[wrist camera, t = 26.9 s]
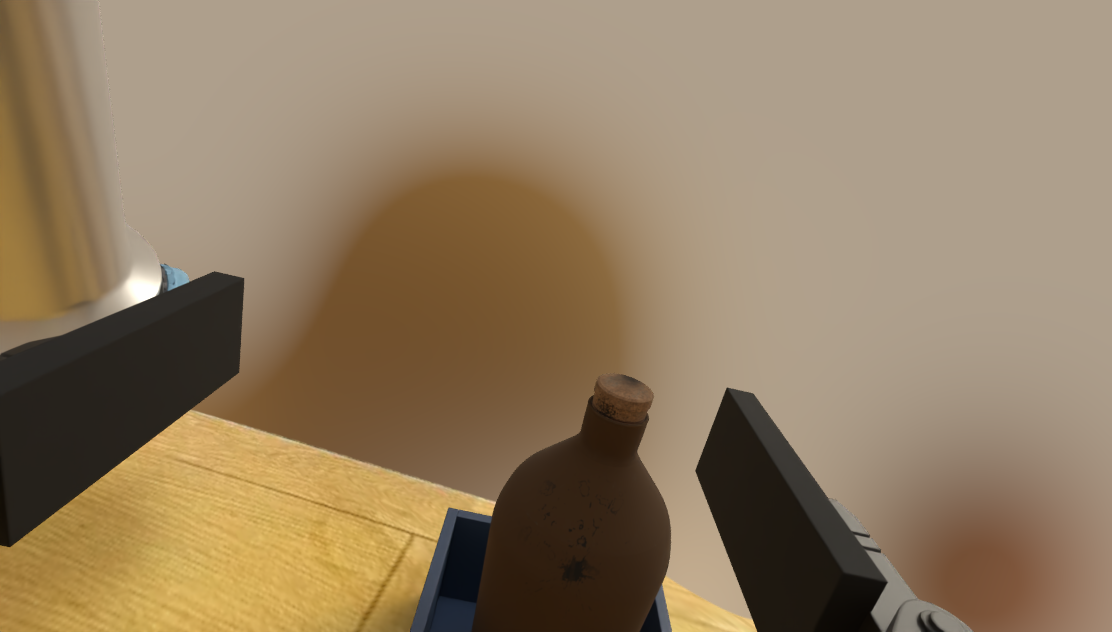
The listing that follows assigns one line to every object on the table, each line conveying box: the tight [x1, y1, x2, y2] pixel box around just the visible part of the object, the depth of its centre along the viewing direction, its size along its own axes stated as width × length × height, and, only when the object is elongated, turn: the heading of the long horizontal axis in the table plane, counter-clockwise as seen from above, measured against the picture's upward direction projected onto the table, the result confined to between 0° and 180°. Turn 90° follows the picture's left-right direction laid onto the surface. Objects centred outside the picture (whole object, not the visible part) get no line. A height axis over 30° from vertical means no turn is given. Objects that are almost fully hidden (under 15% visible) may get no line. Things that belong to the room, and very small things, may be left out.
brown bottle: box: [471, 374, 671, 632], centre depth 33 cm, size 11×11×25 cm
